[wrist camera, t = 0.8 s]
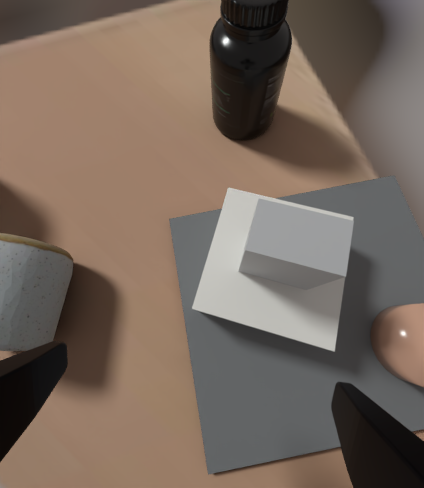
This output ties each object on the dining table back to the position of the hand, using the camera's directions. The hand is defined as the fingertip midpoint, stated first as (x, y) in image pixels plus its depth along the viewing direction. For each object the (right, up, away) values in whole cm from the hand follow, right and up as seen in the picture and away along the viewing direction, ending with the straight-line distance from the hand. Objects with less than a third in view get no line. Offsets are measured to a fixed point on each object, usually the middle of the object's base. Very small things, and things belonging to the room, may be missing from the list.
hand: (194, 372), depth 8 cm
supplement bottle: (+4, +19, +21) cm, 28 cm away
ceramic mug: (-17, -1, +16) cm, 23 cm away
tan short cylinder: (+17, -4, +12) cm, 21 cm away
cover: (+6, +2, +15) cm, 16 cm away
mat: (+10, -1, +14) cm, 17 cm away
